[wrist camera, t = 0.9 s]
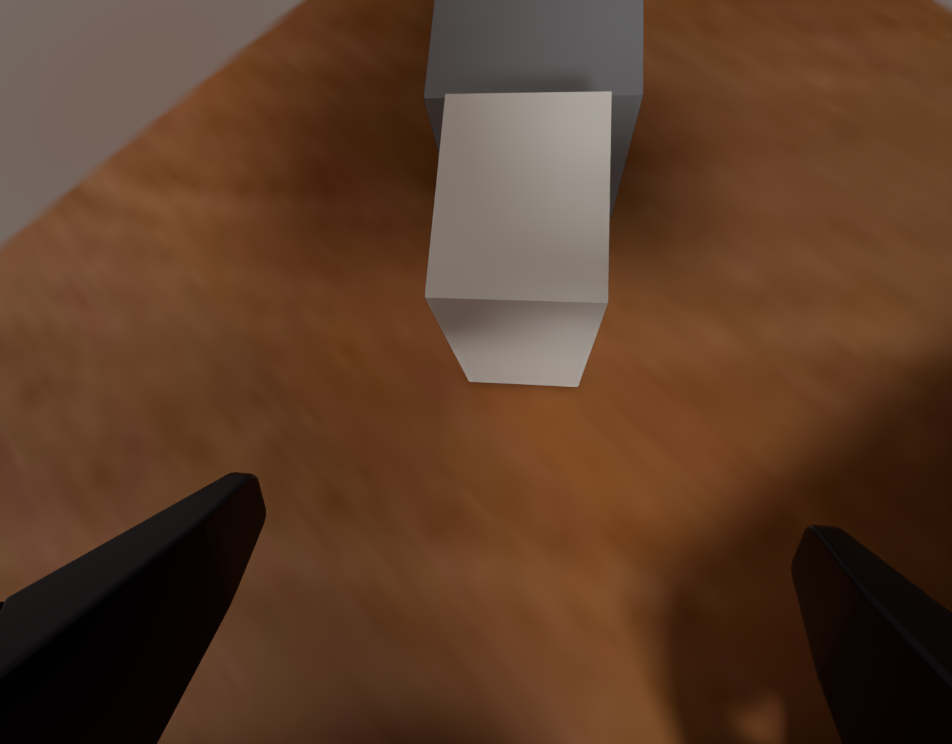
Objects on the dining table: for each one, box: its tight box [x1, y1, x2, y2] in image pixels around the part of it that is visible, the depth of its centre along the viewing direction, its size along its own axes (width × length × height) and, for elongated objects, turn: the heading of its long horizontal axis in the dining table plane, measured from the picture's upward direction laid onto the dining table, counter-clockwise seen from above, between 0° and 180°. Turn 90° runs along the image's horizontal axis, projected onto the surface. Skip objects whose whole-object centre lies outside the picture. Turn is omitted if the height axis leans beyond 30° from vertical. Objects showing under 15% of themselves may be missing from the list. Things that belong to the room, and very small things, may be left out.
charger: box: [425, 91, 612, 387], centre depth 19 cm, size 10×4×10 cm, turn 176°
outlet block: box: [424, 0, 643, 218], centre depth 21 cm, size 4×7×8 cm, turn 86°
